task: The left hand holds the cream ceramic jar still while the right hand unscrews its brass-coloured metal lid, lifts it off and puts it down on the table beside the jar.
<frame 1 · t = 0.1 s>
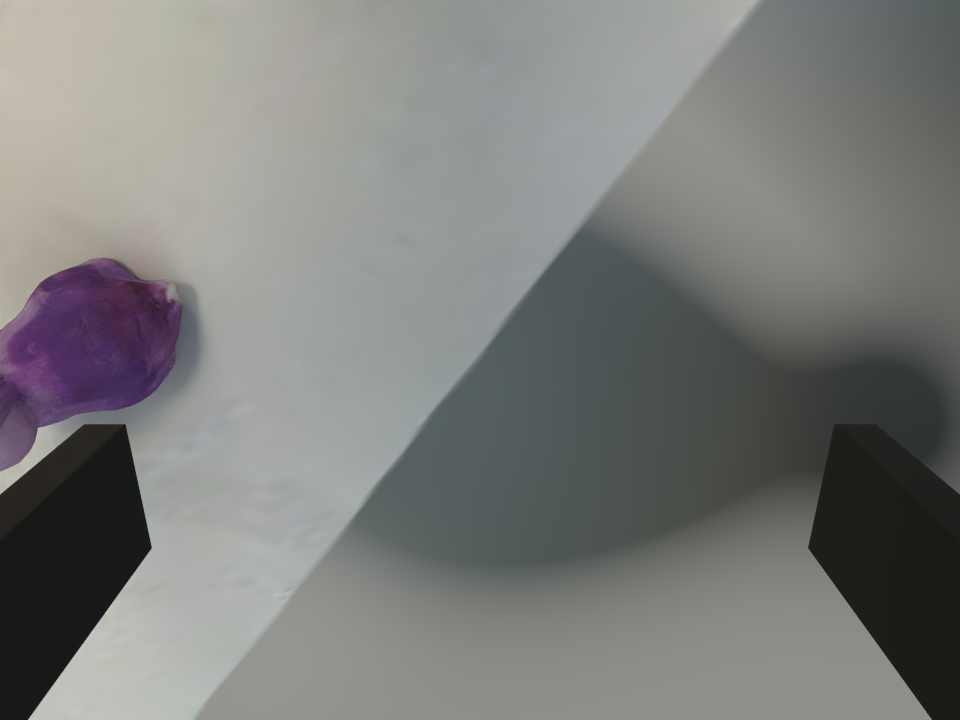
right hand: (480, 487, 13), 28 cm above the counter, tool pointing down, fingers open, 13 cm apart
figurine: (113, 335, 41), on the counter
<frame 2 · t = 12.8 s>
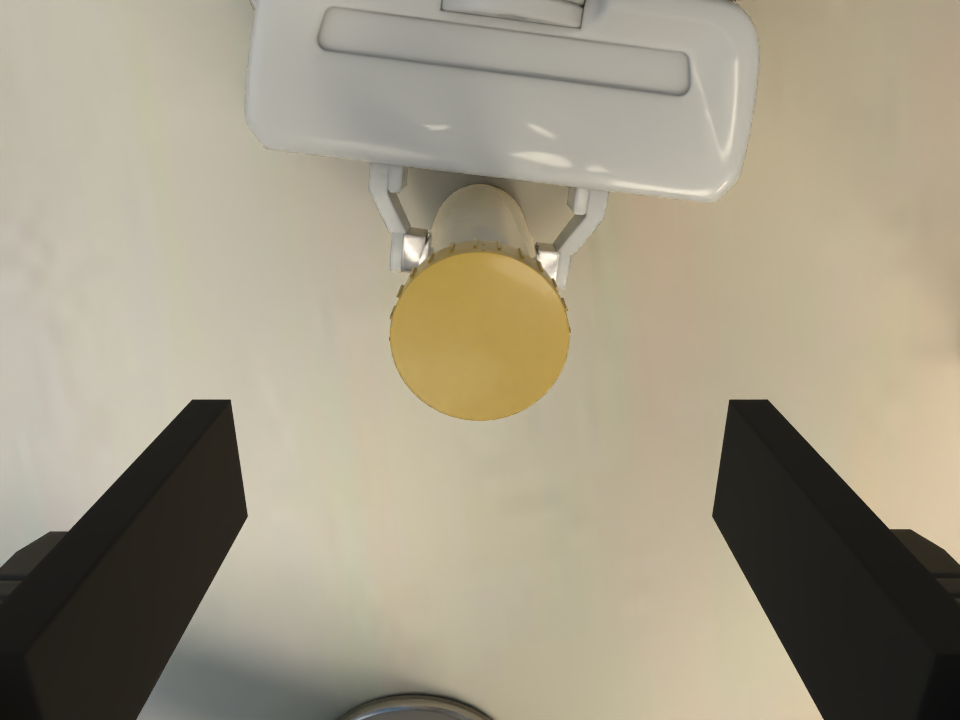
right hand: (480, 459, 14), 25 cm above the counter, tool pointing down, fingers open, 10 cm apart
left hand: (478, 278, 31), fingers closed on jar, 5 cm apart
lid: (479, 336, 21), point 17 cm above the counter, screwed on, not yet turned
jar: (480, 231, 37), on the counter, touching left hand
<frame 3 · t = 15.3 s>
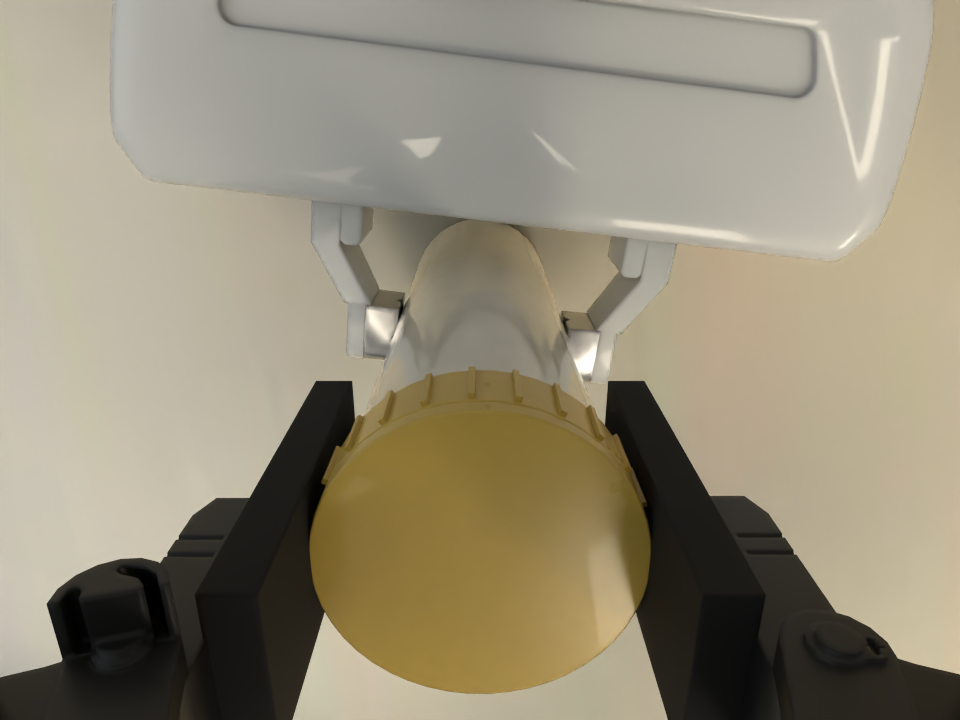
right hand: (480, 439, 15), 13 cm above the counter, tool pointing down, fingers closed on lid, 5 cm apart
lid: (480, 551, 11), point 17 cm above the counter, screwed on, not yet turned, touching right hand
jar: (480, 281, 27), on the counter, touching left hand
when the right hand's fingers open (13 cm above the counter, at t = 16.5 s): lid stays where it is, point 17 cm above the counter.
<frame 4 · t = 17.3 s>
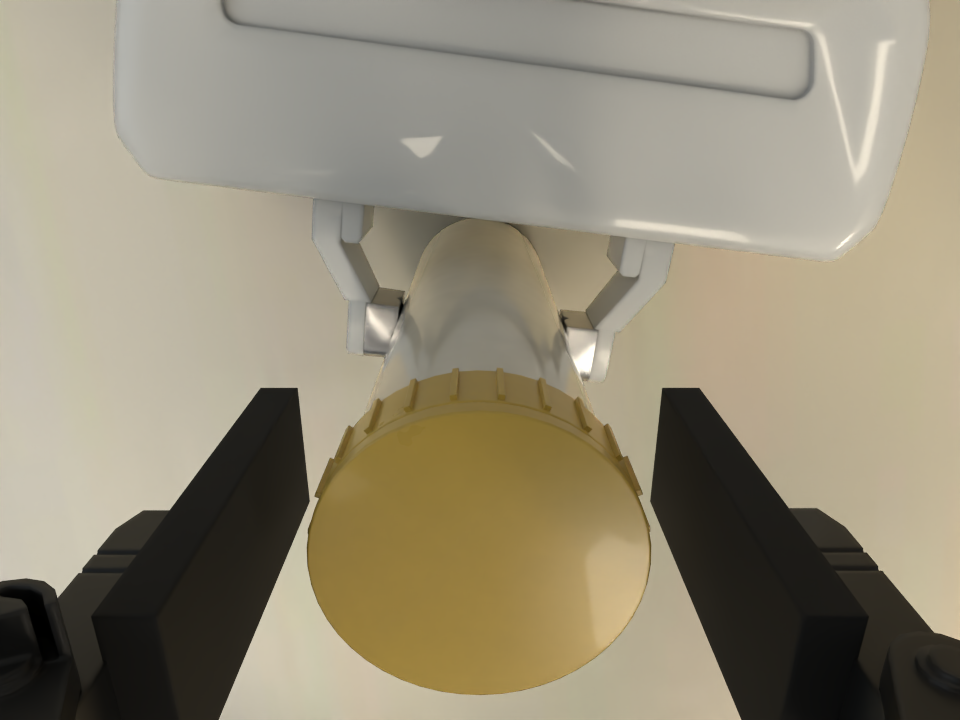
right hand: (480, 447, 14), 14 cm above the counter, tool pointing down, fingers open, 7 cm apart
lid: (479, 552, 11), point 17 cm above the counter, turned 80° so far, risen 0.2 cm, still on its thread
jar: (479, 280, 27), on the counter, touching left hand
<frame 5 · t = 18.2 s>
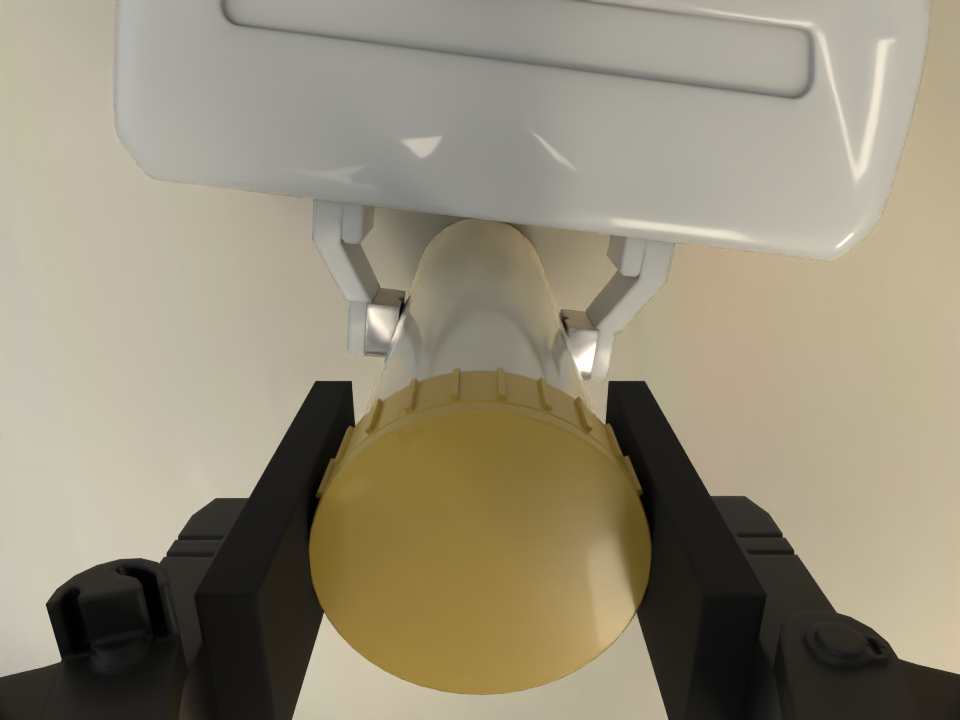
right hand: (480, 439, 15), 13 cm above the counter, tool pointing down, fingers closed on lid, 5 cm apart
lid: (480, 552, 11), point 17 cm above the counter, turned 80° so far, risen 0.2 cm, still on its thread, touching right hand
jar: (480, 280, 27), on the counter, touching left hand
when the right hand's fingers open (0 cm above the counter, at t = 26.3 s): lid stays where it is, point 1 cm above the counter.
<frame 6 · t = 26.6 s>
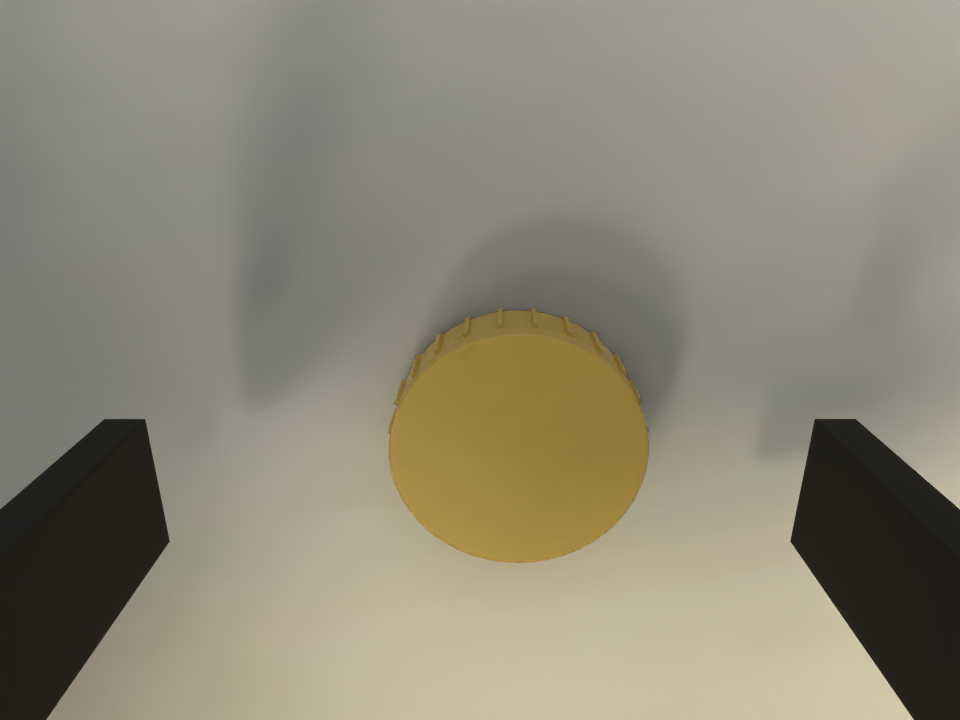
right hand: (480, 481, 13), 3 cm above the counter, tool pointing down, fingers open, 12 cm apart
lid: (517, 448, 15), point 1 cm above the counter, off its thread
when the left hand's fingers open (7 cm above the counter, at t = 27.0 s): jar stays where it is, on the counter.
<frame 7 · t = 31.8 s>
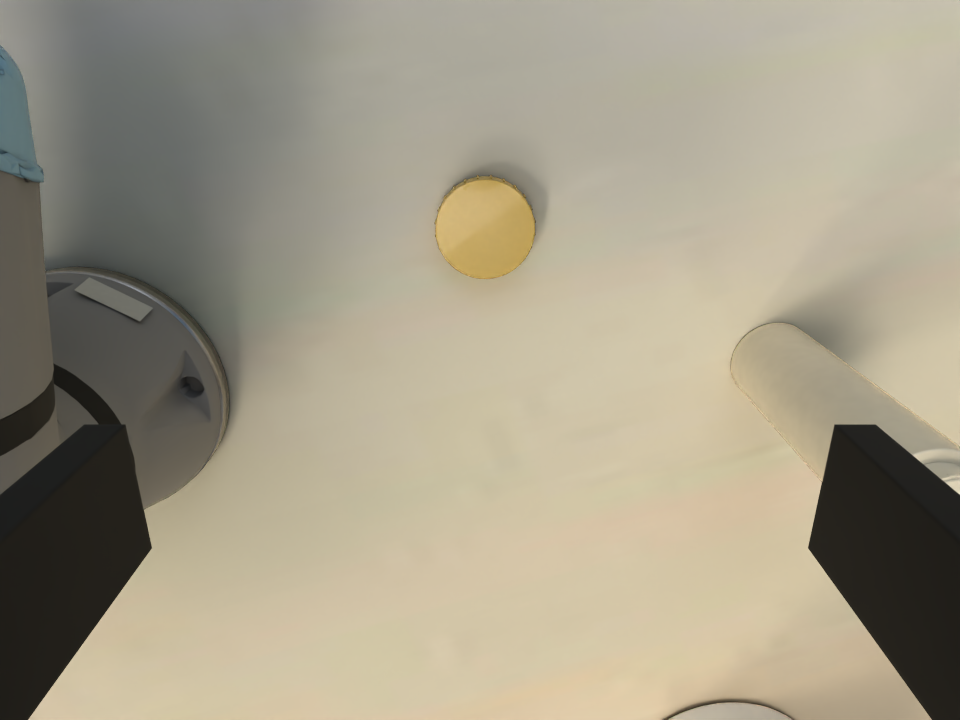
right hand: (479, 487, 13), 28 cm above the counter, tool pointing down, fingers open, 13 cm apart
lid: (485, 229, 37), point 1 cm above the counter, off its thread
jar: (771, 361, 42), on the counter
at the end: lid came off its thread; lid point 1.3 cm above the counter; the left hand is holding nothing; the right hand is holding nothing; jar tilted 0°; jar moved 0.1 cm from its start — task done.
